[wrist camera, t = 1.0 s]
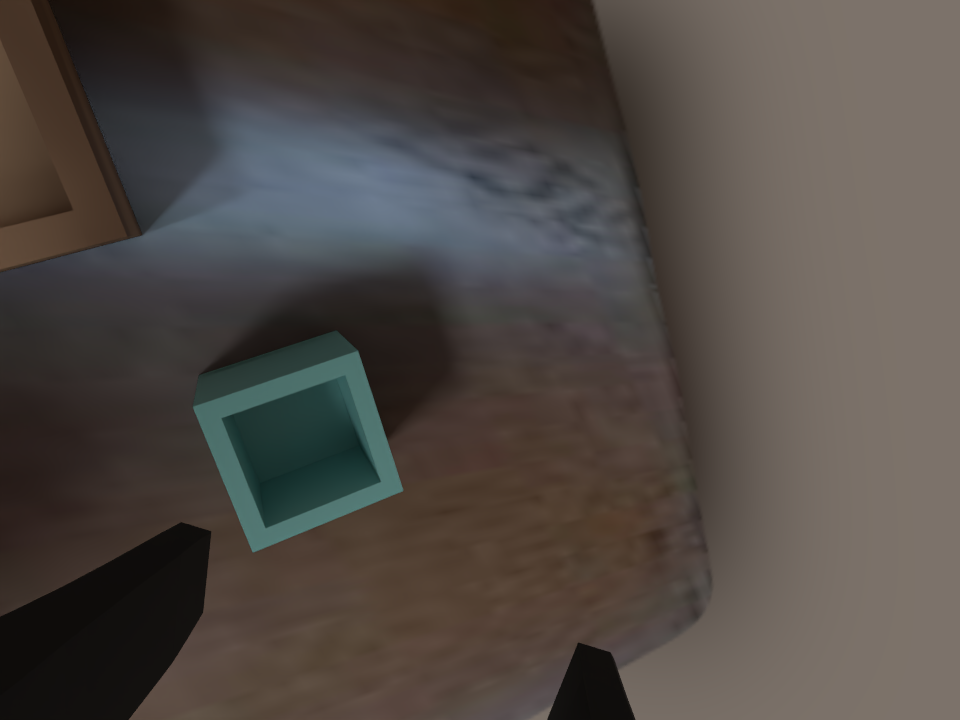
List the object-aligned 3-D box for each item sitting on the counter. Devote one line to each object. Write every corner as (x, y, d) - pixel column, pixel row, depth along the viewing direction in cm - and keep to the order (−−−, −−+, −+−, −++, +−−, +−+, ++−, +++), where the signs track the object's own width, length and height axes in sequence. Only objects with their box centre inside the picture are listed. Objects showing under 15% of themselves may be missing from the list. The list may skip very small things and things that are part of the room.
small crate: (248, 497, 24) (252, 552, 20) (199, 374, 23) (192, 406, 19) (375, 448, 26) (403, 490, 22) (336, 330, 24) (358, 350, 20)
